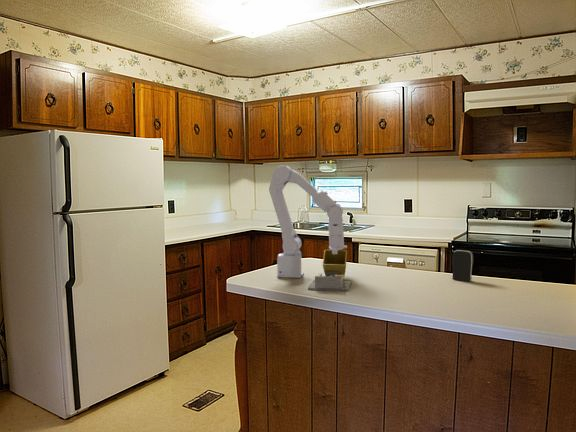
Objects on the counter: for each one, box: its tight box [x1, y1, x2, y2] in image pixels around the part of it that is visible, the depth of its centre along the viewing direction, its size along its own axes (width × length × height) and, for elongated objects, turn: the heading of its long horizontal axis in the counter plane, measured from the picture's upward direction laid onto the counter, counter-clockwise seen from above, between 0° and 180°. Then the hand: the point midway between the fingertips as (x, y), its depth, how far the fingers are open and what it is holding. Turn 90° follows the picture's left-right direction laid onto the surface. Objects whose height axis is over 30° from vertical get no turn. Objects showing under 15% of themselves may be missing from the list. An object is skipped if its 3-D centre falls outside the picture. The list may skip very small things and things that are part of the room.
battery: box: [452, 249, 474, 282], centre depth 169 cm, size 7×4×11 cm, turn 50°
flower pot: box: [322, 249, 348, 276], centre depth 172 cm, size 9×9×9 cm
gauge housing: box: [307, 272, 352, 293], centre depth 161 cm, size 14×12×5 cm
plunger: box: [324, 271, 346, 278], centre depth 163 cm, size 8×10×4 cm
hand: (337, 269), depth 177 cm, fingers closed, pressing on flower pot
